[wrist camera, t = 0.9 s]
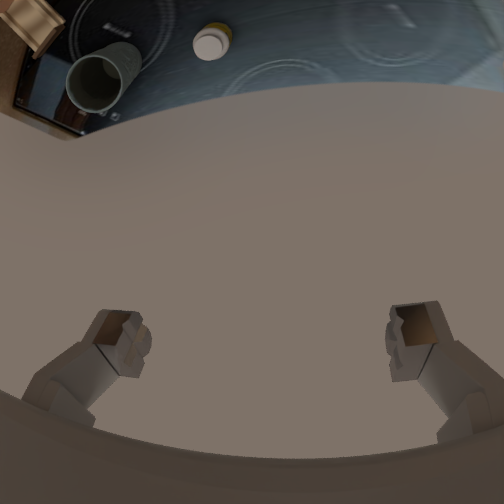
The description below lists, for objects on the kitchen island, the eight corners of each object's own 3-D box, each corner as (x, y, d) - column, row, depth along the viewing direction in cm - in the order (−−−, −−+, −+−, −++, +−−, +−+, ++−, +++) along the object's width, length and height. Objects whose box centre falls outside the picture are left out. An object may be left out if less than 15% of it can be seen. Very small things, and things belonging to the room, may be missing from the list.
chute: (-17, -5, 23) (-28, -1, 21) (5, -38, 20) (-7, -36, 17) (43, 55, 40) (33, 61, 38) (68, 23, 36) (58, 28, 34)
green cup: (99, 85, 48) (70, 114, 40) (95, 38, 40) (61, 59, 32) (147, 84, 49) (124, 112, 41) (147, 34, 41) (120, 52, 33)
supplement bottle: (239, 38, 42) (235, 51, 36) (213, 55, 45) (205, 72, 39) (219, 15, 39) (210, 24, 33) (194, 34, 41) (180, 46, 35)
